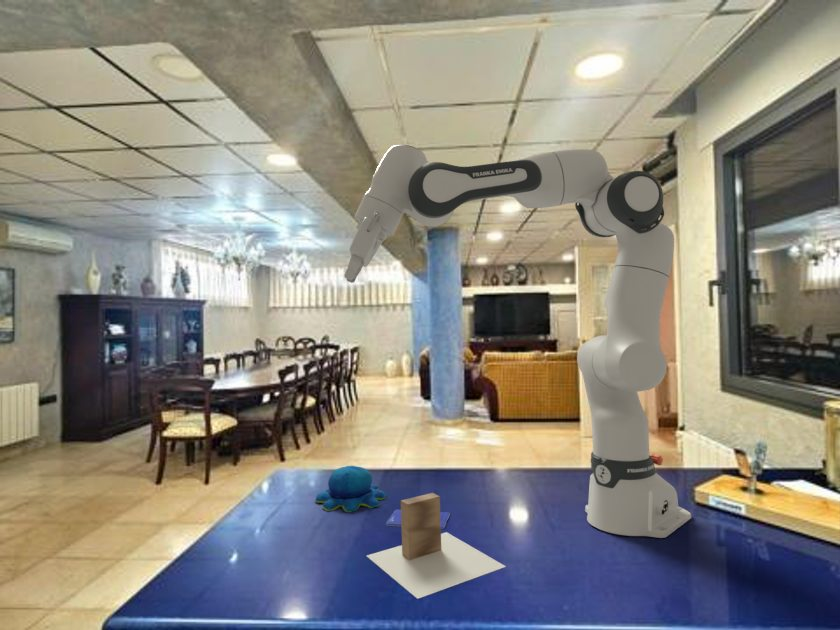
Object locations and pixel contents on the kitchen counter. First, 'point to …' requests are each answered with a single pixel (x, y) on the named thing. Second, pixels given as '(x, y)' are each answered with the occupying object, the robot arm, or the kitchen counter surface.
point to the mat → (435, 566)
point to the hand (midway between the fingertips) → (348, 280)
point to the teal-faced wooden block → (420, 526)
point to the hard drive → (396, 519)
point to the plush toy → (350, 490)
